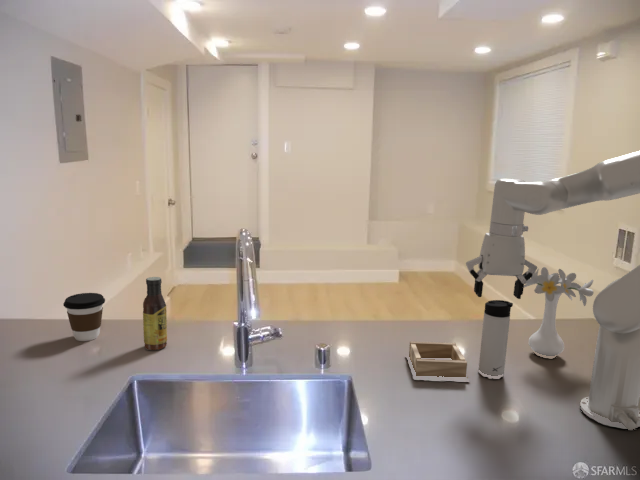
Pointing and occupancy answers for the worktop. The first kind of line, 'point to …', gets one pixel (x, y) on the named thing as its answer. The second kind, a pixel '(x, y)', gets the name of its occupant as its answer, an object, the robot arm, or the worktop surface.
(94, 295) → the coffee cup
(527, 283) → the flower vase
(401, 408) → the worktop surface
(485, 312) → the travel mug
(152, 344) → the sauce bottle
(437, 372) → the wooden square tray
